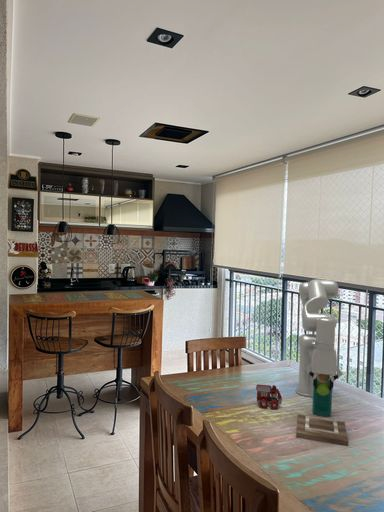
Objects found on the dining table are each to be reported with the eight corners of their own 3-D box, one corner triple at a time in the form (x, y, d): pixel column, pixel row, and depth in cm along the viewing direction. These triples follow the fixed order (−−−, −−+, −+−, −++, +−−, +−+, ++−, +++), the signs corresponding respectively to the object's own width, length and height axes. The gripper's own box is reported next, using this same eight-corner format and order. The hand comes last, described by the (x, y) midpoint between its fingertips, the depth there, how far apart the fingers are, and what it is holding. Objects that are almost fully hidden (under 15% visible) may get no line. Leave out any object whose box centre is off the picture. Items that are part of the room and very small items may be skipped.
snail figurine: (311, 392, 166) (313, 364, 166) (325, 392, 167) (327, 365, 166) (316, 397, 161) (318, 369, 160) (331, 397, 161) (333, 369, 161)
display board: (297, 418, 176) (297, 412, 175) (344, 426, 170) (344, 419, 170) (295, 437, 158) (296, 429, 158) (348, 446, 152) (348, 438, 152)
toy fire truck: (282, 410, 184) (283, 388, 184) (256, 408, 185) (256, 386, 185) (280, 404, 191) (281, 383, 191) (255, 402, 192) (256, 381, 192)
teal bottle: (330, 410, 185) (332, 365, 185) (331, 417, 177) (333, 370, 177) (309, 407, 189) (311, 362, 188) (309, 414, 181) (311, 367, 180)
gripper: (303, 346, 162) (301, 389, 162) (347, 351, 157) (345, 395, 157) (304, 342, 169) (302, 383, 170) (345, 346, 164) (343, 388, 165)
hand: (322, 388), depth 163 cm, fingers closed on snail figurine, 5 cm apart
